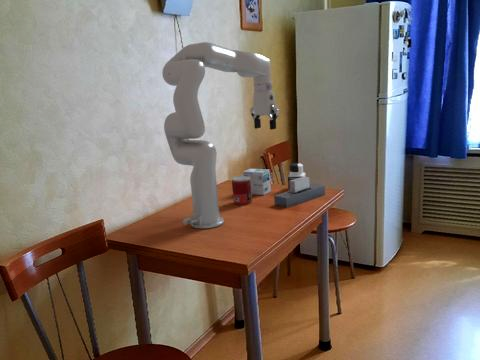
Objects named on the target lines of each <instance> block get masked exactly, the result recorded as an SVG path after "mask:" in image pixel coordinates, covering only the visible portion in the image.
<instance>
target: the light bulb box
mask: <svg viewBox="0 0 480 360" xmlns="http://www.w3.org/2000/svg"><path fill="white" fill-rule="evenodd" d="M242 176H248V177H250V181H251V195H260V196H265V195H267V194H269V193H270V192H271V191H272V189H271V187H272V186H271V176H270V169H263V168H248V169H246V170H243V172H242Z"/></svg>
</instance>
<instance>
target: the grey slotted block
mask: <svg viewBox="0 0 480 360" xmlns="http://www.w3.org/2000/svg"><path fill="white" fill-rule="evenodd" d="M309 187H310V190H301V191H298V194H292V193H290V191H289V190H287V191H284V192H281V193H278V194H275V195H273V197H274V198H273V201H274V206H278V207H282V208H285V207H286V209H287V207H288V208H290V206H291V207H293V206H296V205H299V204H302V203H305V202H307V201H310V200H314V199H316V198H319V197H322V196H324V195H326V185H324V184H323V185H322V184H318V183H317V184H316V183H309Z"/></svg>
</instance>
